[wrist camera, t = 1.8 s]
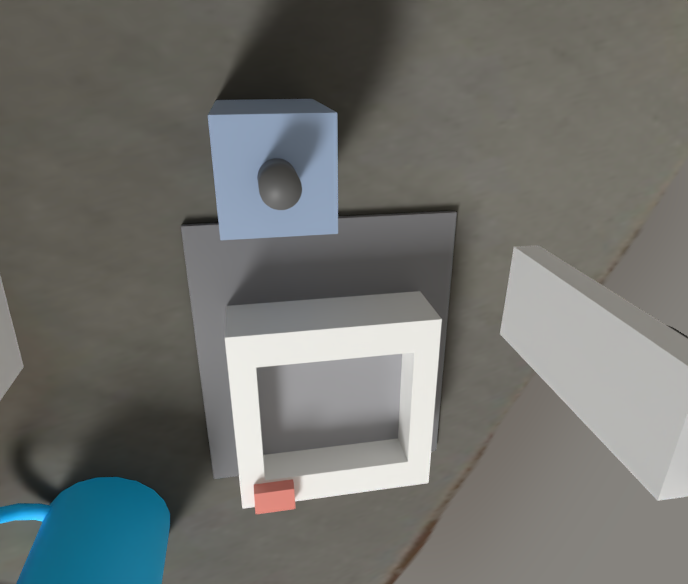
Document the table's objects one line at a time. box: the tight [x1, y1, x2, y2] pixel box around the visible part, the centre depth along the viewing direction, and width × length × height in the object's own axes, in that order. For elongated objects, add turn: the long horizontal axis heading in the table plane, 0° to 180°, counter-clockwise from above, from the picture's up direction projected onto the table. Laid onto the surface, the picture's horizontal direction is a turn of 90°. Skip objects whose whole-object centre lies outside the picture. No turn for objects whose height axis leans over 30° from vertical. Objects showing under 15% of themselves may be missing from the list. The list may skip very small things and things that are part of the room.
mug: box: [0, 477, 170, 584], centre depth 33 cm, size 12×8×8 cm
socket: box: [181, 211, 457, 514], centre depth 32 cm, size 18×16×5 cm
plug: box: [208, 99, 338, 240], centre depth 24 cm, size 5×5×10 cm
